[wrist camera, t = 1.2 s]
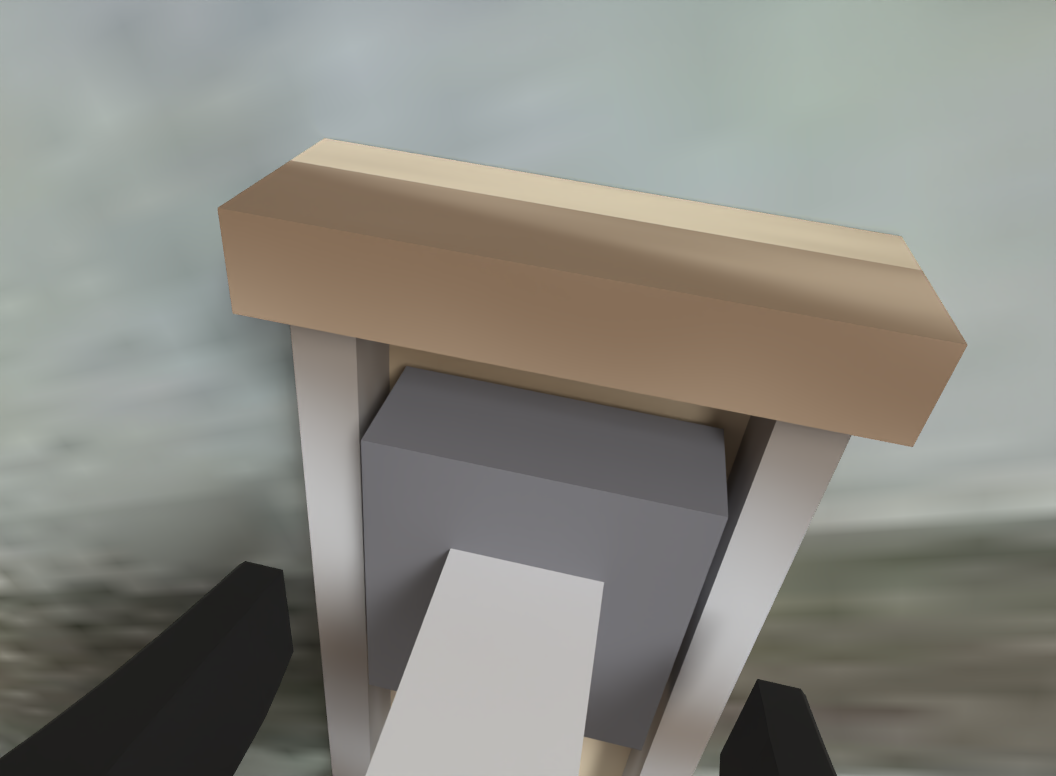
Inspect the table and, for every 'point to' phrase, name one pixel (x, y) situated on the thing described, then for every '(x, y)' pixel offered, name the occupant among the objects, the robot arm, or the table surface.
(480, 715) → the carriage
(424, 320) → the rail track
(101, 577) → the table surface
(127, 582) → the table surface
